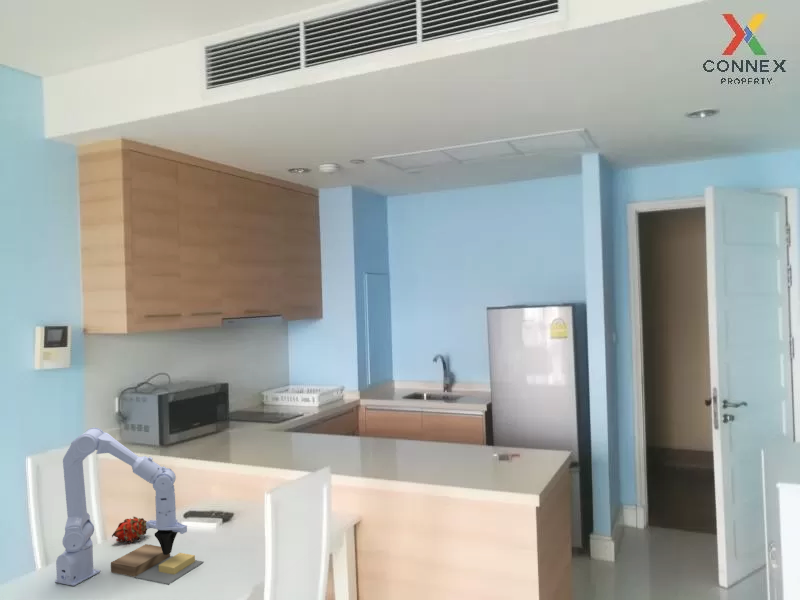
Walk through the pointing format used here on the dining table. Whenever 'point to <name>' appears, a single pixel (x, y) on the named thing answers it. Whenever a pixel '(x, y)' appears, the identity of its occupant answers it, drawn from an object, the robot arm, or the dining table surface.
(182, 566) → the yellow rectangular block
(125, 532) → the dragon fruit
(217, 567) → the dining table surface
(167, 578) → the mat
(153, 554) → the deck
